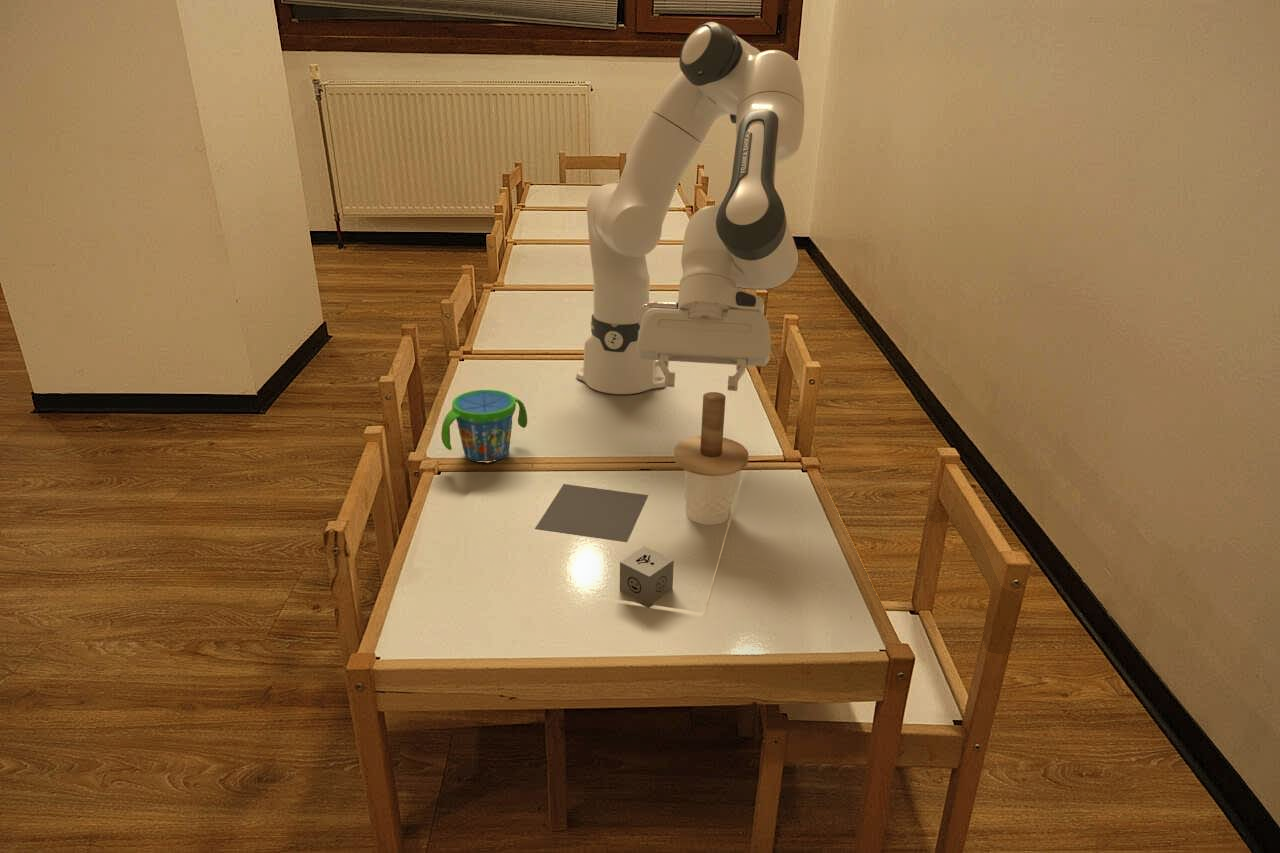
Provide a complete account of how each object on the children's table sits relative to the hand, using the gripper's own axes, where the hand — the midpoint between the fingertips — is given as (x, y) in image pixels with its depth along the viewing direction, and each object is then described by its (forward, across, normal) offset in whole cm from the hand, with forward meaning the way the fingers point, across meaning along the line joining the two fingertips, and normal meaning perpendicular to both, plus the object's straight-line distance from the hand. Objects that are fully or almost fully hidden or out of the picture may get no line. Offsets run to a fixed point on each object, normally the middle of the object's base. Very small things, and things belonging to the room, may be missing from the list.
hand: (700, 387), depth 134 cm
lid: (+10, +2, +3) cm, 11 cm away
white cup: (+17, +2, +10) cm, 20 cm away
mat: (+18, -15, +9) cm, 25 cm away
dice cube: (+32, -5, -4) cm, 33 cm away
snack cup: (+6, -36, +21) cm, 42 cm away
